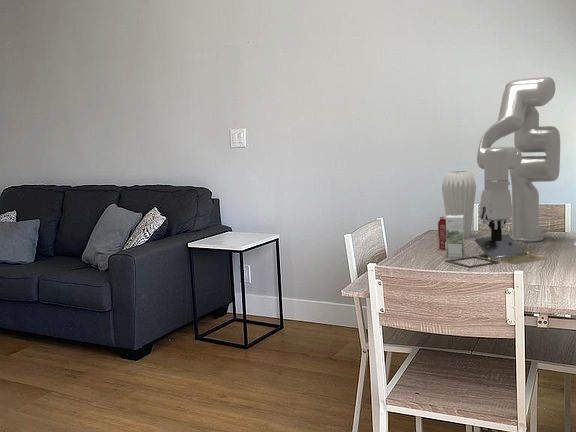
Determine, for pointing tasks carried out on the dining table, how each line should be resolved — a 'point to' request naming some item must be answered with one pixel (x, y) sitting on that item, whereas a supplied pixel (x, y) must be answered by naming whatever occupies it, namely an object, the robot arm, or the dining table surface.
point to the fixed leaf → (520, 259)
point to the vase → (460, 196)
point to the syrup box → (455, 235)
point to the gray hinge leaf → (500, 247)
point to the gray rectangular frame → (472, 265)
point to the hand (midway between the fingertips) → (496, 240)
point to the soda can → (442, 233)
